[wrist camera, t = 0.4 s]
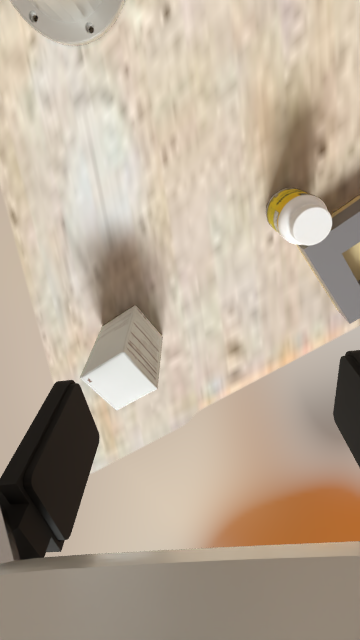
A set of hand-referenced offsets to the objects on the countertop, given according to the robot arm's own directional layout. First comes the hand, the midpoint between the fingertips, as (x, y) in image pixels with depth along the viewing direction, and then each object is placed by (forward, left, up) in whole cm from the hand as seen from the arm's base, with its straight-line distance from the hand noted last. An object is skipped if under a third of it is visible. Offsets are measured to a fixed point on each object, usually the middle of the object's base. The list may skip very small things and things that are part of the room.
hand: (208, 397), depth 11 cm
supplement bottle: (+4, +12, -34) cm, 36 cm away
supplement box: (+14, -15, -34) cm, 40 cm away
